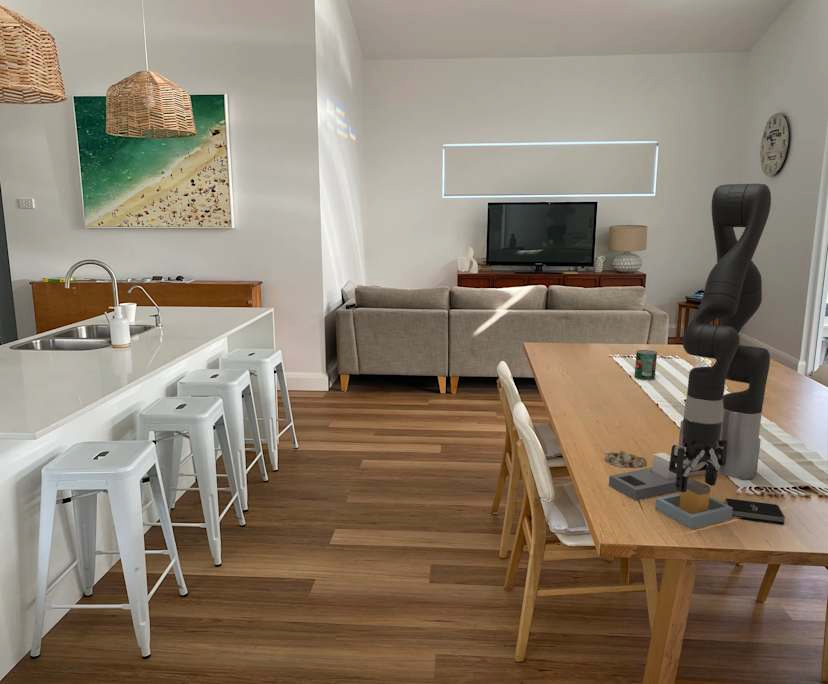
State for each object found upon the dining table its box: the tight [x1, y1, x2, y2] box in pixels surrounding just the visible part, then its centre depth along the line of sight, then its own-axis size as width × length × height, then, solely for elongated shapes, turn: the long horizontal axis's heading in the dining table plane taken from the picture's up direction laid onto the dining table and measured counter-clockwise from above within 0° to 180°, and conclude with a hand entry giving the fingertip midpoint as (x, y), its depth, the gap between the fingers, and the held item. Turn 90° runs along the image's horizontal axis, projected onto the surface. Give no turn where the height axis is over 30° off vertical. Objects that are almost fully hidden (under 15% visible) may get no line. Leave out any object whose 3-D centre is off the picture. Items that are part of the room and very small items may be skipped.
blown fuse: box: [679, 478, 711, 515], centre depth 141 cm, size 3×5×7 cm, turn 25°
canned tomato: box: [634, 349, 658, 382], centre depth 259 cm, size 8×8×11 cm
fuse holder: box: [608, 466, 679, 501], centre depth 155 cm, size 16×9×3 cm, turn 114°
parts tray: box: [654, 492, 733, 531], centre depth 141 cm, size 12×10×3 cm
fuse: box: [652, 452, 677, 480], centre depth 156 cm, size 3×5×7 cm, turn 24°
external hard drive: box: [723, 497, 786, 526], centre depth 142 cm, size 7×11×2 cm, turn 73°
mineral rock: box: [604, 450, 648, 469], centre depth 170 cm, size 11×4×8 cm
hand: (695, 487), depth 140 cm, fingers open, 8 cm apart
